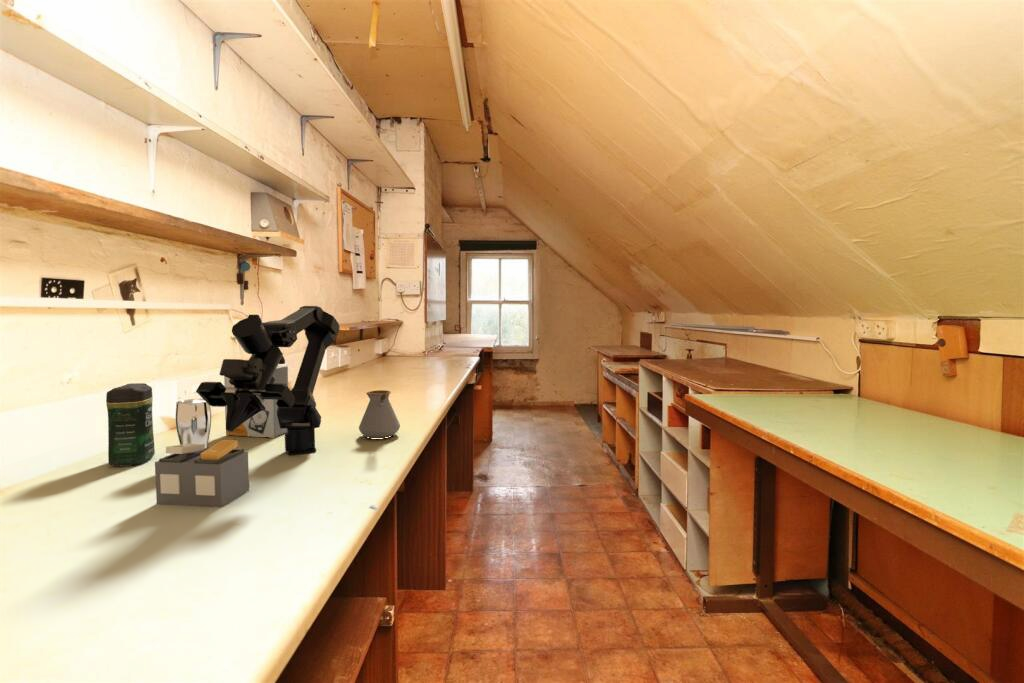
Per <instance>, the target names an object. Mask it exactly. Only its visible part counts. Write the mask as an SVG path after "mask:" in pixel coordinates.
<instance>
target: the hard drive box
mask: <svg viewBox="0 0 1024 683" xmlns="http://www.w3.org/2000/svg"><path fill="white" fill-rule="evenodd" d="M288 368H289V367H288V365H287V366H286V365H278V366H277V368H276V370H275V372H274V374H273V377H274V379H275V381H274V383H286V385H287V386H288V387H289V376H288V375H289V369H288ZM223 377H224V381H223V382H224V386H225V388H226V387H227V386H230V387H235V386H234V385H231V384H230V383H229V380H230V378H228V377H226V376H223ZM277 401H278V399H268V402H266V403H265V406H264V407H265V408H266V409H265V410H264V411H260V412H259V413H257V414H255V415H254V416H252V417H251V418H249V419H248V420H246V421H245V422H244V423H242V424H241V425H240V426H238V427H237V428H236V429H234V430H233V431H227V430H226V429H225V435H226V436H235V437H250V436H251V438H253V437H254V438H259V437H269V439H275V438H277V437H279V436H278V435H280V436H282V435H284V434H283V433H286V432H287V428H283V429H280V425H279V421H278V417H277V409H278V406H277V404H276V403H277ZM224 411H225V412H224V414H225V419H226V418H227V405H226V406H224ZM281 434H282V435H281ZM276 436H277V437H276ZM274 437H275V438H274Z"/></svg>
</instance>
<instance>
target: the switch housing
mask: <svg viewBox="0 0 1024 683" xmlns="http://www.w3.org/2000/svg"><path fill="white" fill-rule="evenodd" d="M209 448H210V447H208V448H205V449H204V450H202V451H196V452H190V453H184V454H170V455H167V456H164V457H162V458H158V459H159V460H157V461H154V473H155V474H154V475H155V494H156V498H155V499H156V504H157V505H171V506H172V505H175V506H197V507H198V506H199V507H215V506H217V508H223V507H224V506H226V505H227V504H229V503H230V502H232V501H234V500H236V499H238V498H239V497H241V496H242V494H243V495H244V494H246V493H247V491H248V492H249V491H250V480H249V478H250V475H249V474H250V473H249V451H245V449H243V448H242V449H239V448H238V449H237V448H234V449H233V450H231V451H230V452H229V453H227V454H226V455H224V456H223V457H221V458H220V459H219V460H201V453H202V452H204V451H205V450H207V449H209ZM222 506H223V507H222Z"/></svg>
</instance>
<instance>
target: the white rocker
mask: <svg viewBox="0 0 1024 683" xmlns="http://www.w3.org/2000/svg"><path fill="white" fill-rule="evenodd" d="M204 449H205V444H183V445H180V444H177V445H171V446H170V445H169V446H165V454H170V455H172V454H184V453H190V452H196V451H202V450H204Z"/></svg>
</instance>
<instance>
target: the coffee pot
mask: <svg viewBox="0 0 1024 683" xmlns="http://www.w3.org/2000/svg"><path fill="white" fill-rule="evenodd" d="M391 393H392V392H391V390H386V389H385V390H383V389H382V390H372V391H371V390H370V391H367V392H366V395H367V396H368V398H369V402H368V404H367V406H366V409H365V411H364V414H363V416H362V417H361V418H362V419H361V421H360V422H359V426H358V431H359V432H360V433H361V434H362V435H363V436H365V438H366V437H369V438H385V437H389V436H392V435H393V436H394V435H395V434H397V433H398V431H399V430H400V427H401V425H400V421H399V419H398V417H397V415H396V413H395V411H394V408H393V406H392V403H391V401H390V400H389V398H390V394H391Z"/></svg>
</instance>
